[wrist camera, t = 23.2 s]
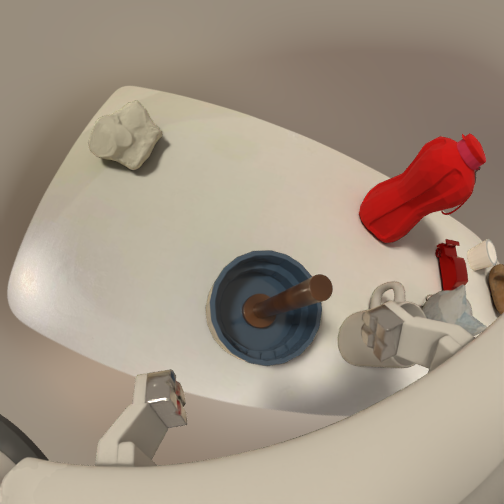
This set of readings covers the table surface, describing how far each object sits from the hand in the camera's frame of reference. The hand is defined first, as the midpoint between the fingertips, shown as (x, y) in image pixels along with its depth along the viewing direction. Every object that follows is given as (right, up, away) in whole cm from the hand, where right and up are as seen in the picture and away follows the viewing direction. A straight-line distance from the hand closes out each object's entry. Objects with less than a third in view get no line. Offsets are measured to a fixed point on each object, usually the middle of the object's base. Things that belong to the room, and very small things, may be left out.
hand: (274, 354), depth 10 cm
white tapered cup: (+56, +2, +42) cm, 70 cm away
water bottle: (+23, +10, +36) cm, 44 cm away
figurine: (+29, -9, +32) cm, 44 cm away
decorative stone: (-20, +21, +28) cm, 41 cm away
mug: (+16, -8, +29) cm, 34 cm away
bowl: (+67, -8, +42) cm, 80 cm away
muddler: (0, -4, +25) cm, 25 cm away
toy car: (+41, -1, +37) cm, 55 cm away
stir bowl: (0, -4, +25) cm, 26 cm away
